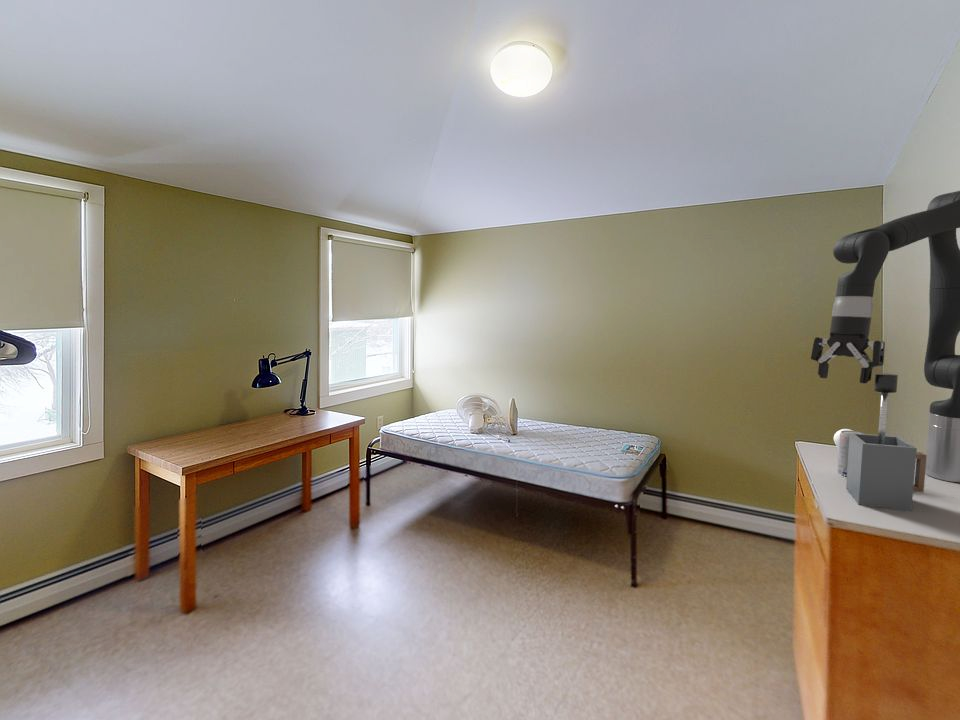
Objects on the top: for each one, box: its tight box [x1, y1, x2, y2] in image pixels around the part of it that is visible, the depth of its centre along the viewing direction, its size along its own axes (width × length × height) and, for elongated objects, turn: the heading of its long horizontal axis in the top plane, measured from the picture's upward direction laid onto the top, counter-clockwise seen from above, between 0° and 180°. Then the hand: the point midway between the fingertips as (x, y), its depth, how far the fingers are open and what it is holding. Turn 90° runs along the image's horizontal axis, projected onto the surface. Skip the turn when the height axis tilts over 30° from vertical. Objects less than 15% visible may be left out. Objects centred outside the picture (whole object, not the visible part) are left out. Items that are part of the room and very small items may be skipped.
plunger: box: [873, 372, 899, 445], centre depth 106 cm, size 7×7×21 cm
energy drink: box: [837, 430, 864, 477], centre depth 123 cm, size 5×5×12 cm
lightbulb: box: [833, 428, 854, 451], centre depth 130 cm, size 6×6×11 cm
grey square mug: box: [845, 433, 927, 512], centre depth 107 cm, size 13×10×15 cm
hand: (842, 380), depth 111 cm, fingers open, 8 cm apart
